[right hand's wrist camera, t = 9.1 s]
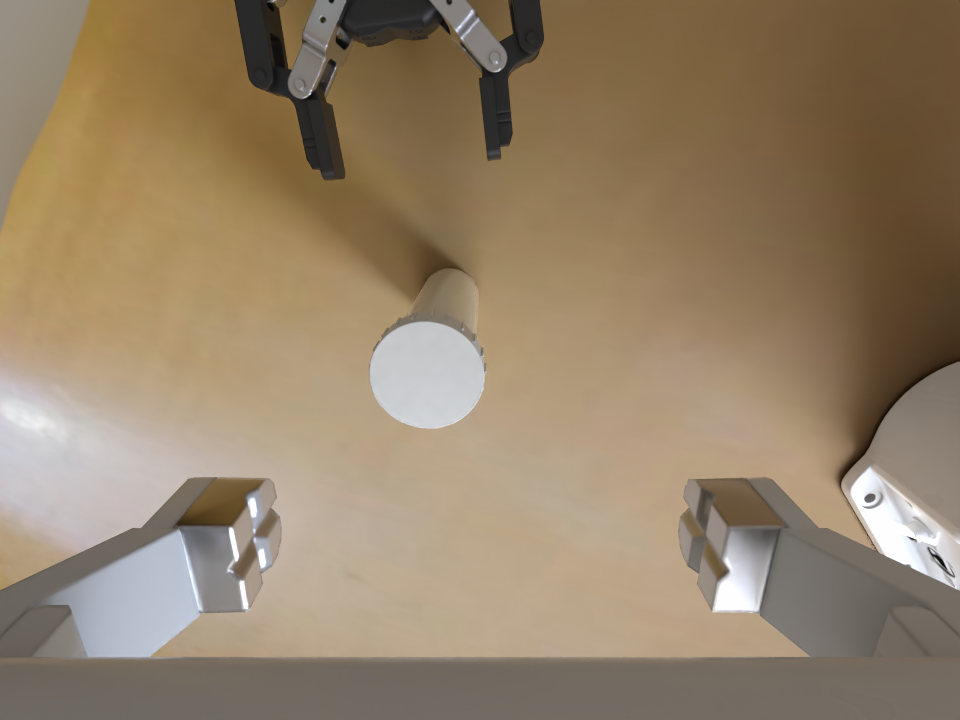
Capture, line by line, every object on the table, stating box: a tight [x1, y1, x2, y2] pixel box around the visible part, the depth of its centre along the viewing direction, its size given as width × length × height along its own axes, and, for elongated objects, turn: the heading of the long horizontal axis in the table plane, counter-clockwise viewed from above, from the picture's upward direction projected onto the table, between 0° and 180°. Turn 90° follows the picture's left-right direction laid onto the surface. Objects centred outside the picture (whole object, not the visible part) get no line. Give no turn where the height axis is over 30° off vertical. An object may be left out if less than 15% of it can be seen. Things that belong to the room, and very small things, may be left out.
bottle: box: [405, 268, 479, 338], centre depth 29 cm, size 4×4×15 cm
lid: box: [369, 310, 486, 429], centre depth 22 cm, size 5×5×2 cm
